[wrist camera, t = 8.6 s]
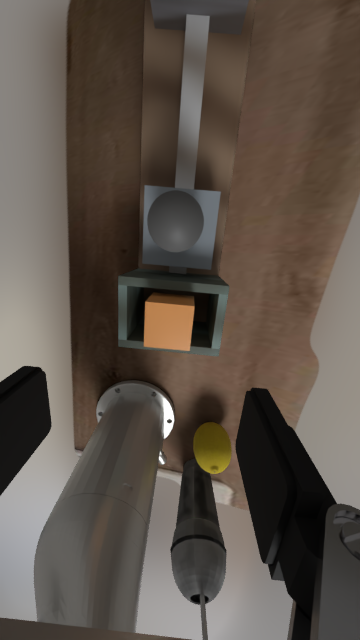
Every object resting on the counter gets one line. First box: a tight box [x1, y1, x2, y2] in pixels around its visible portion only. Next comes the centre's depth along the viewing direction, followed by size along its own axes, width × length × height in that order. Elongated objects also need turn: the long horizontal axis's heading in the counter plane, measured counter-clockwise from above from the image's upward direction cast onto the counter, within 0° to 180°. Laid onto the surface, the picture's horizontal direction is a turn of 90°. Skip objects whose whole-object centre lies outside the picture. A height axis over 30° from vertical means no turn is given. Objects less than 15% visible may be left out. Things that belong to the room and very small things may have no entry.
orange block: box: [144, 292, 195, 351], centre depth 20 cm, size 4×4×4 cm
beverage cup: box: [171, 459, 226, 640], centre depth 30 cm, size 7×7×20 cm
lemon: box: [193, 422, 231, 474], centre depth 32 cm, size 6×6×8 cm
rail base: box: [118, 0, 256, 356], centre depth 21 cm, size 32×10×10 cm, turn 175°
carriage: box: [142, 185, 221, 270], centre depth 20 cm, size 7×7×10 cm
